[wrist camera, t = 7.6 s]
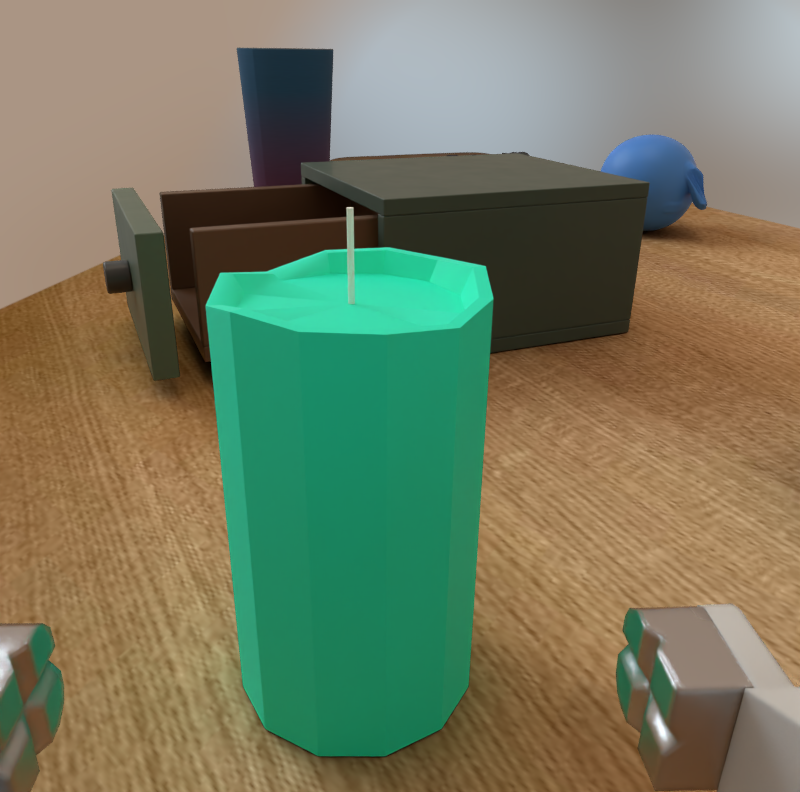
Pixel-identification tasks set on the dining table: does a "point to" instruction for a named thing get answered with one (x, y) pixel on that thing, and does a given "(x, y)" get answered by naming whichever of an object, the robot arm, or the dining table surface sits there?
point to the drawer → (217, 251)
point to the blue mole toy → (660, 176)
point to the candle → (353, 487)
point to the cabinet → (512, 234)
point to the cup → (286, 110)
